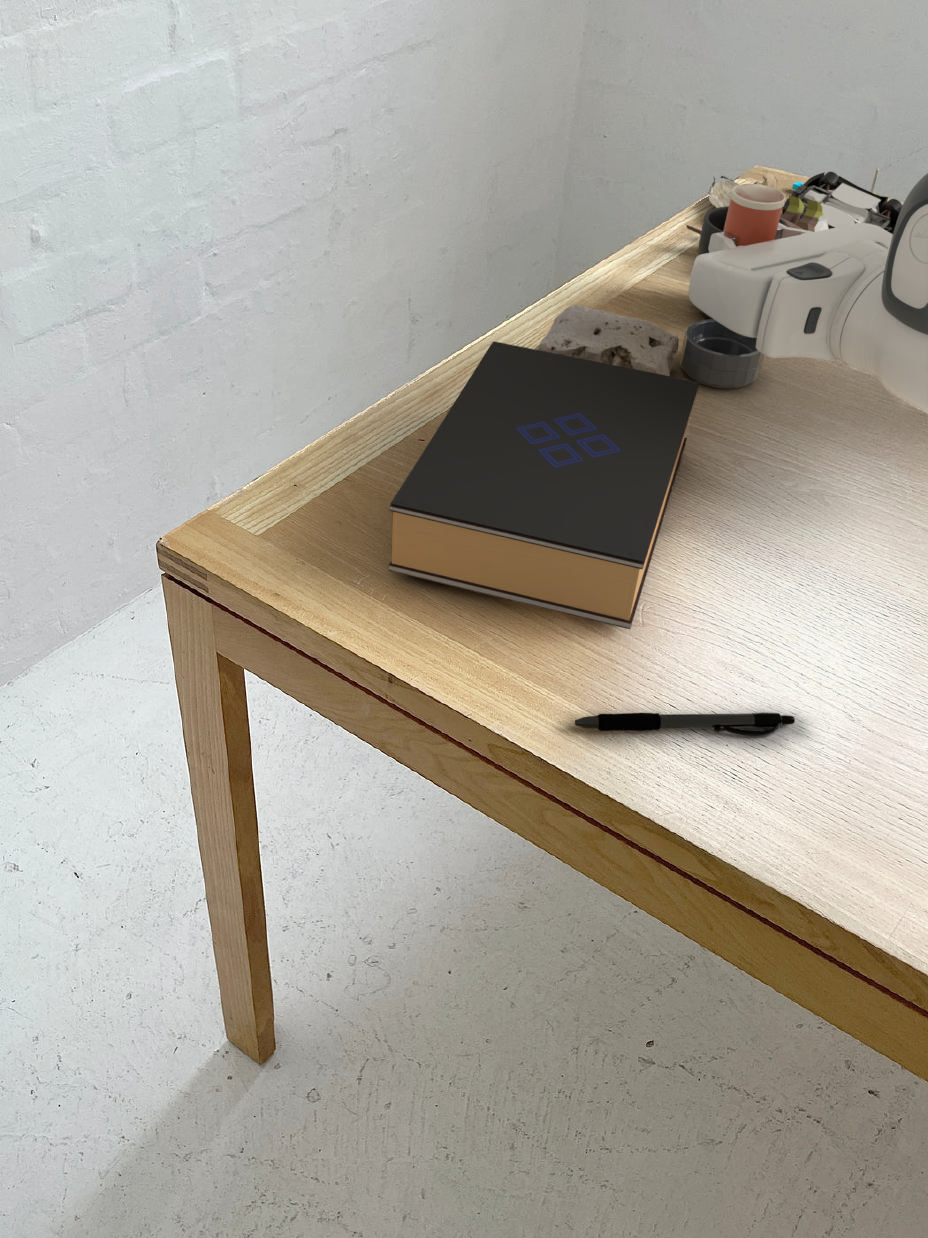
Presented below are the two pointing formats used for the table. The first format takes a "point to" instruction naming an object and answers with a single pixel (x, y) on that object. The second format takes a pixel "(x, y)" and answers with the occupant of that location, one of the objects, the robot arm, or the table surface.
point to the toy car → (847, 202)
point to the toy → (793, 215)
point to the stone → (611, 340)
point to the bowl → (719, 356)
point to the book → (546, 483)
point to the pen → (688, 722)
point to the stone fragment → (723, 191)
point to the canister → (754, 213)
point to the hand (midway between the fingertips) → (740, 235)
